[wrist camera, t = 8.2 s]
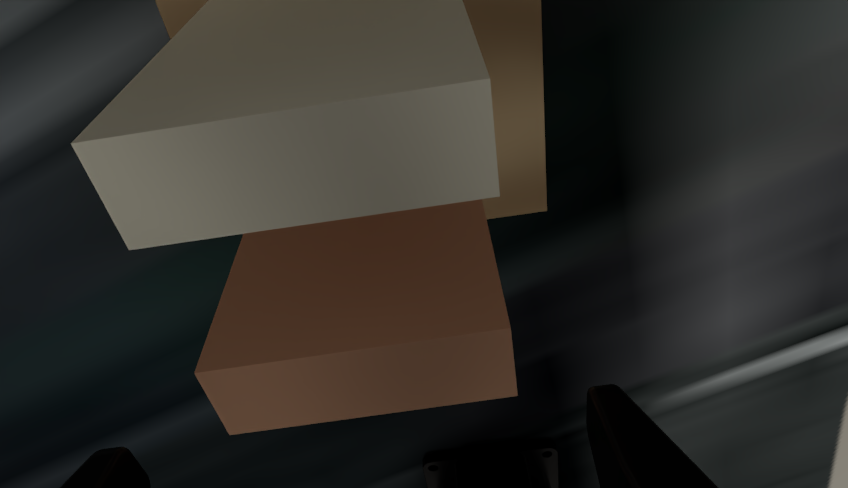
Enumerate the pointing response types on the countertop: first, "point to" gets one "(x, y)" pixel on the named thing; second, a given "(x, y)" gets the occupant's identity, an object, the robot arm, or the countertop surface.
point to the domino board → (510, 88)
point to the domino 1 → (296, 120)
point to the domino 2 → (359, 320)
